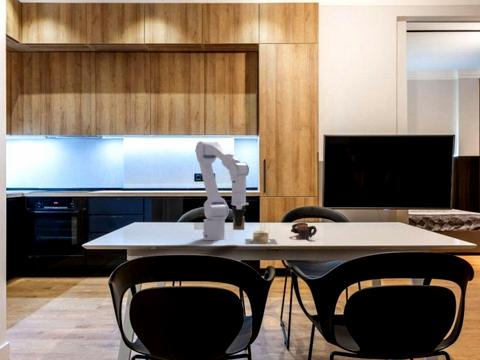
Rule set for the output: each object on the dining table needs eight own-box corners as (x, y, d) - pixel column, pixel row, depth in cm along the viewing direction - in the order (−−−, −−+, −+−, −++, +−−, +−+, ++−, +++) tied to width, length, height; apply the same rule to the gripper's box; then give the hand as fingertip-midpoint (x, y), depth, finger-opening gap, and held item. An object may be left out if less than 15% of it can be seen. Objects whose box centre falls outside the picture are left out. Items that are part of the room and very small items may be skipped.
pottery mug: (289, 241, 183) (287, 223, 187) (295, 247, 190) (293, 230, 195) (316, 235, 179) (313, 218, 183) (321, 242, 187) (318, 225, 191)
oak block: (253, 242, 173) (254, 232, 173) (253, 239, 179) (253, 230, 179) (268, 242, 173) (268, 232, 173) (267, 239, 179) (267, 230, 179)
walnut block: (233, 229, 168) (233, 217, 168) (233, 228, 172) (233, 216, 172) (244, 229, 168) (244, 217, 168) (244, 228, 172) (244, 216, 172)
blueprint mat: (245, 245, 169) (245, 243, 169) (244, 240, 182) (244, 238, 182) (277, 245, 169) (277, 244, 169) (274, 240, 182) (274, 238, 182)
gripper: (249, 193, 162) (249, 227, 163) (247, 191, 177) (247, 223, 177) (231, 193, 162) (231, 227, 163) (231, 191, 177) (231, 222, 177)
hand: (238, 225), depth 170 cm, fingers closed on walnut block, 4 cm apart
